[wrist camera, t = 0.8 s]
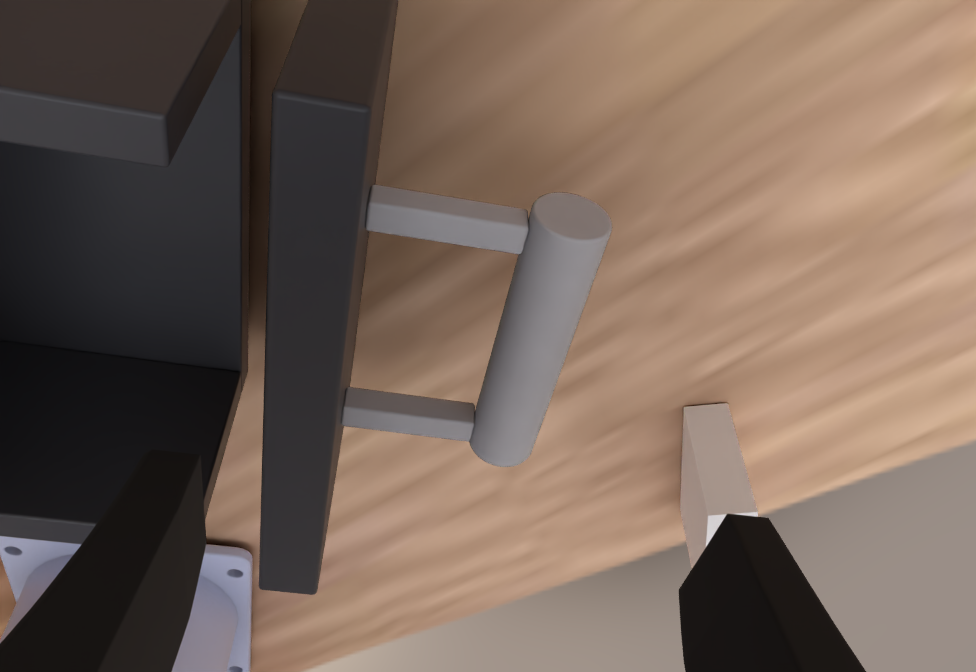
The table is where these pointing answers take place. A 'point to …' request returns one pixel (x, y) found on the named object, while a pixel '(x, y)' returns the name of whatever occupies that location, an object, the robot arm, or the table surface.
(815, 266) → the table surface
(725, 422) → the eraser
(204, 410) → the basket
